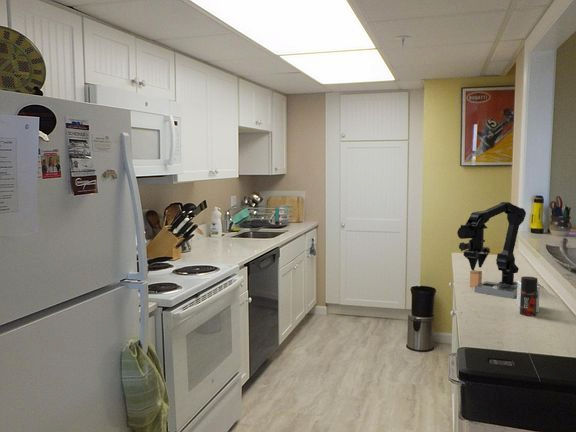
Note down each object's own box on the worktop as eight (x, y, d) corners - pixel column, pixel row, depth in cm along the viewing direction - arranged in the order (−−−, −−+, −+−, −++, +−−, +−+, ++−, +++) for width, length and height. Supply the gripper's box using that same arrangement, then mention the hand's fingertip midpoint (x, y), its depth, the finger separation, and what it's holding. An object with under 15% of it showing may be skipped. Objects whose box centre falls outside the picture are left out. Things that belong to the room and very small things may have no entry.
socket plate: (485, 287, 256) (486, 279, 256) (523, 293, 244) (523, 285, 244) (474, 292, 246) (474, 284, 246) (513, 298, 234) (513, 290, 233)
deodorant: (535, 313, 211) (536, 277, 209) (536, 317, 205) (538, 280, 204) (519, 311, 213) (521, 276, 211) (520, 315, 207) (521, 278, 206)
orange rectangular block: (473, 285, 260) (473, 270, 259) (481, 286, 257) (481, 271, 256) (469, 287, 257) (470, 271, 256) (478, 288, 254) (478, 272, 253)
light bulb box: (539, 312, 212) (540, 286, 211) (521, 311, 213) (522, 286, 212) (532, 305, 222) (533, 281, 221) (515, 304, 223) (516, 280, 222)
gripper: (469, 234, 267) (468, 264, 268) (453, 238, 253) (452, 269, 254) (490, 236, 259) (489, 266, 261) (476, 240, 245) (475, 272, 247)
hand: (476, 268), depth 256 cm, fingers open, 9 cm apart
